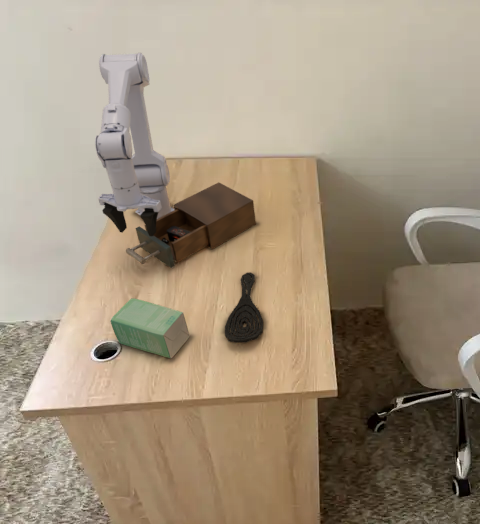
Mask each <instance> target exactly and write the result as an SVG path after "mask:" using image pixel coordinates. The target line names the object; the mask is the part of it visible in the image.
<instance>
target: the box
mask: <svg viewBox="0 0 480 524" xmlns="http://www.w3.org/2000/svg"><path fill="white" fill-rule="evenodd" d="M110 325H111V327H112V330H113V333H114V335H115V338H116V340H117V341H118V343H119V344H121V345H124V346H127V347H130V348H133V349H137V350H141V351H145V352H147V353H151V354H154V355H158V356H160V357H164V358H168V359H173V358H174V357H175V355H176V354H177V353H178V352H179V351H180V350H181V348H182V347H183V346H184V345H185V343H186V342H187V341H188V339H190V332H189V328H188V325H187V321H186V318H185V314H184V311H180V310H176V309H174V308H173V309H172V308H170V307H167V306H163V305H160V304H156V303H153V302H149V301H146V300H142V299H138V298H134V297H133V298H130V299H128V301H127V302H126V303H125V304H124V305H123V306H122V307H121V308H120V309H119V310H117V312H116V313H115V314H114V315H113V316H112V317H111V318H110Z"/></svg>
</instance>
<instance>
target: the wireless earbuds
mask: <svg viewBox="0 0 480 524" xmlns="http://www.w3.org/2000/svg"><path fill="white" fill-rule="evenodd" d="M188 233H190V231H187V230H184V229H182V228H179V227H176V226H172V227H170V228H169V229H168V230H167V234H168V239H169V241H172V242H174V241H175V240H177V239H179V238H181V237H183V236H185V235H186V234H188ZM161 241H162V242H164V243H166V244H168V243H169V241H168V240H167V239H166V238H163V239H162V240H161Z"/></svg>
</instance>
